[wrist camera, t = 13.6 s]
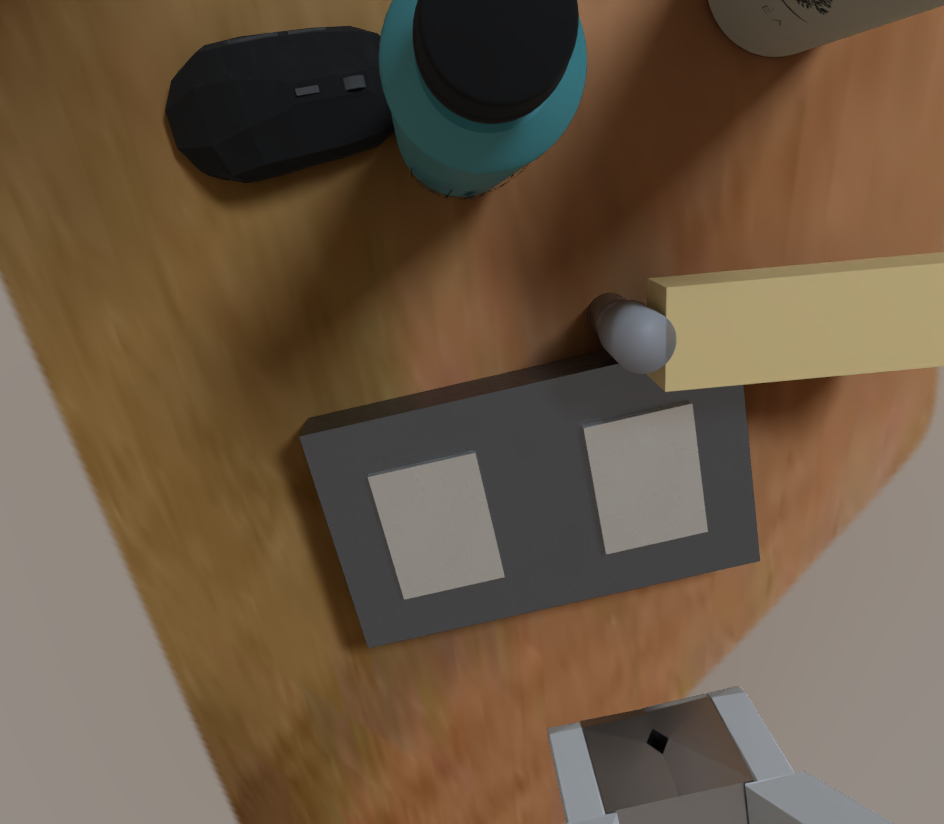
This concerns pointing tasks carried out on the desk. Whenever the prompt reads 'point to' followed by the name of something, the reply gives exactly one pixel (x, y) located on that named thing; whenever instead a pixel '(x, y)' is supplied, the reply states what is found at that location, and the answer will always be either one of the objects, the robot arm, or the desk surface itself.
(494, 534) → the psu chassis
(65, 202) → the desk surface
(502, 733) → the desk surface
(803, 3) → the travel mug
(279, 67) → the gaming mouse
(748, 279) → the beige block
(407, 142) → the beverage bottle
